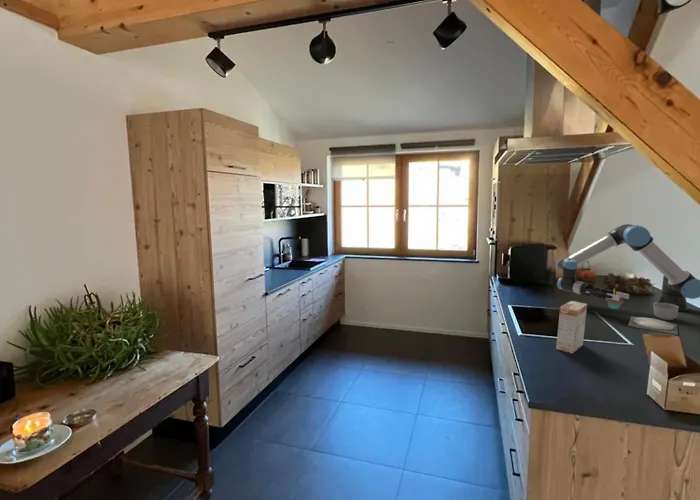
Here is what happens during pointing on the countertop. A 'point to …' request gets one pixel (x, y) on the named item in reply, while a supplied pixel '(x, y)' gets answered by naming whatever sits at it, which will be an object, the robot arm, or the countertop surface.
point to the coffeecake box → (571, 326)
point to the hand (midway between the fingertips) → (623, 297)
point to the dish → (653, 325)
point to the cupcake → (614, 302)
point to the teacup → (665, 311)
